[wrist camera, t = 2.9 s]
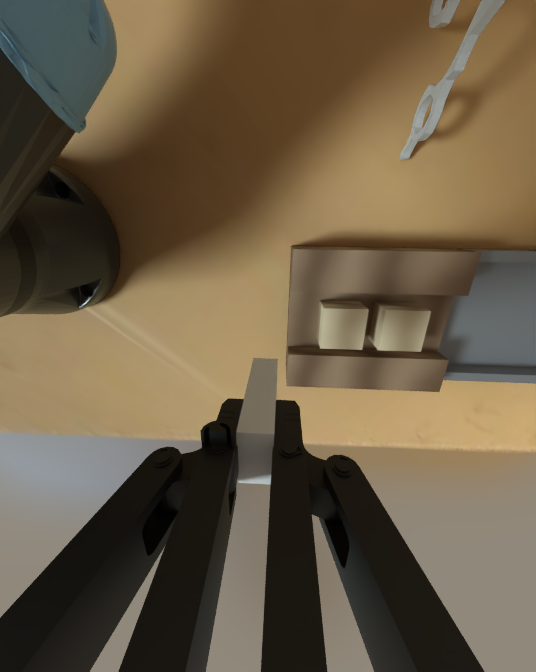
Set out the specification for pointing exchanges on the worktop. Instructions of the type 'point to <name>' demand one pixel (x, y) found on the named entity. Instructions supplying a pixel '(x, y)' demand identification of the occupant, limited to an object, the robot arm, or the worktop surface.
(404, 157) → the scissors
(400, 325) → the chip
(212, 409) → the worktop surface
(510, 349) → the tray
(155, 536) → the robot arm
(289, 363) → the slot board
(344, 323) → the cream square block
